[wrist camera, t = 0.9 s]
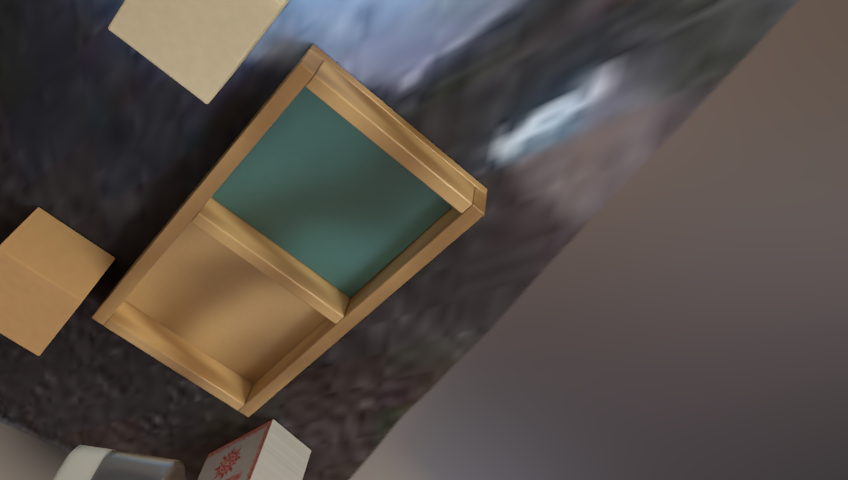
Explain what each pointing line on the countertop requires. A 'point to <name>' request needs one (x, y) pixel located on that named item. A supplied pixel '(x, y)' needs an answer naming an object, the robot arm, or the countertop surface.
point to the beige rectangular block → (196, 37)
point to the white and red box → (259, 456)
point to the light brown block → (45, 278)
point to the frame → (291, 237)
